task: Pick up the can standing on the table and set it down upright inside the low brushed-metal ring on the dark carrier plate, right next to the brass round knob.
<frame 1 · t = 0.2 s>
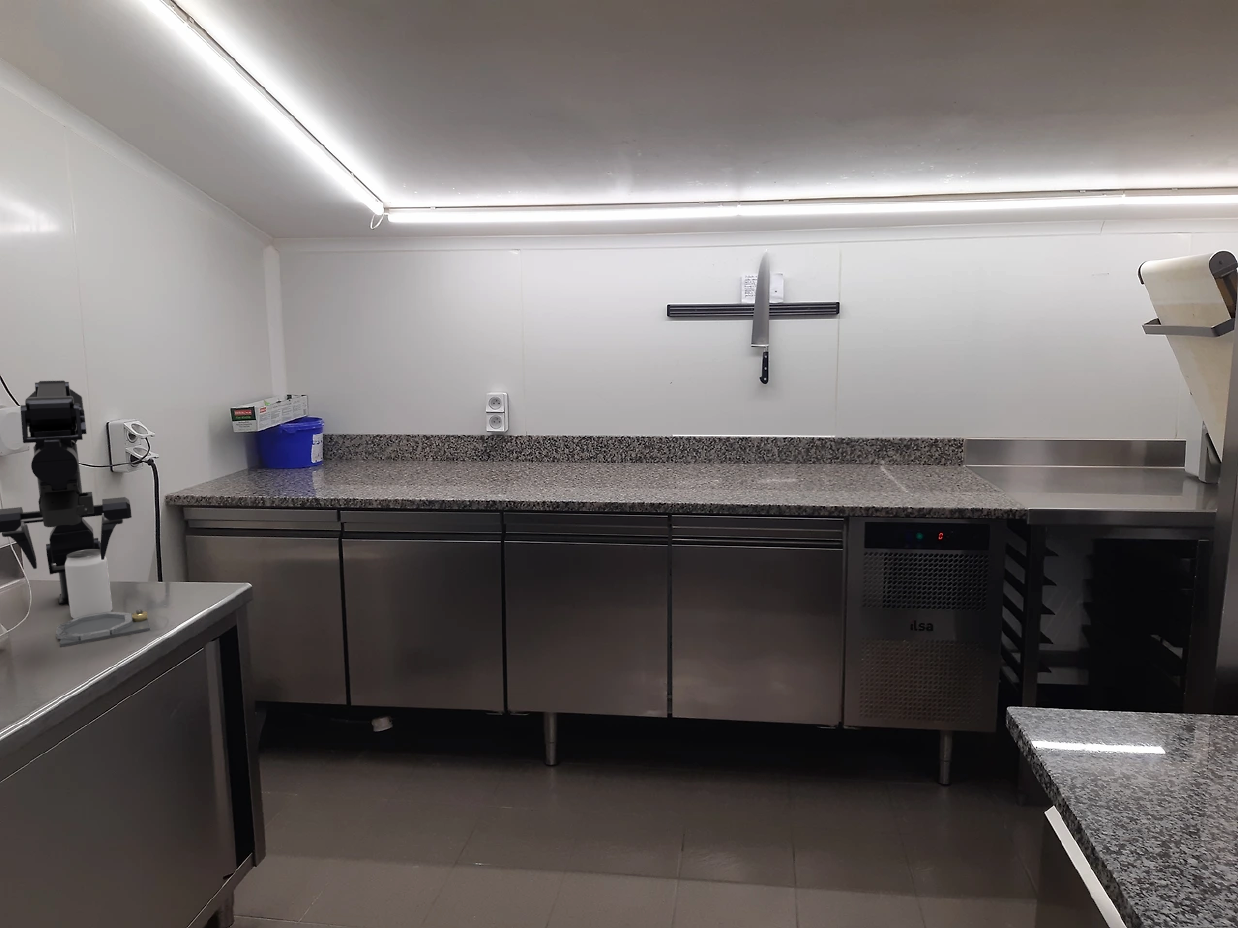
hand: (69, 563, 126), 14 cm above the worktop, tool pointing down, fingers open, 9 cm apart
brass round knob: (140, 622, 137), resting on carrier plate
socket: (95, 630, 134), resting on carrier plate
can: (92, 615, 141), on the worktop
carrier plate: (105, 629, 134), on the worktop
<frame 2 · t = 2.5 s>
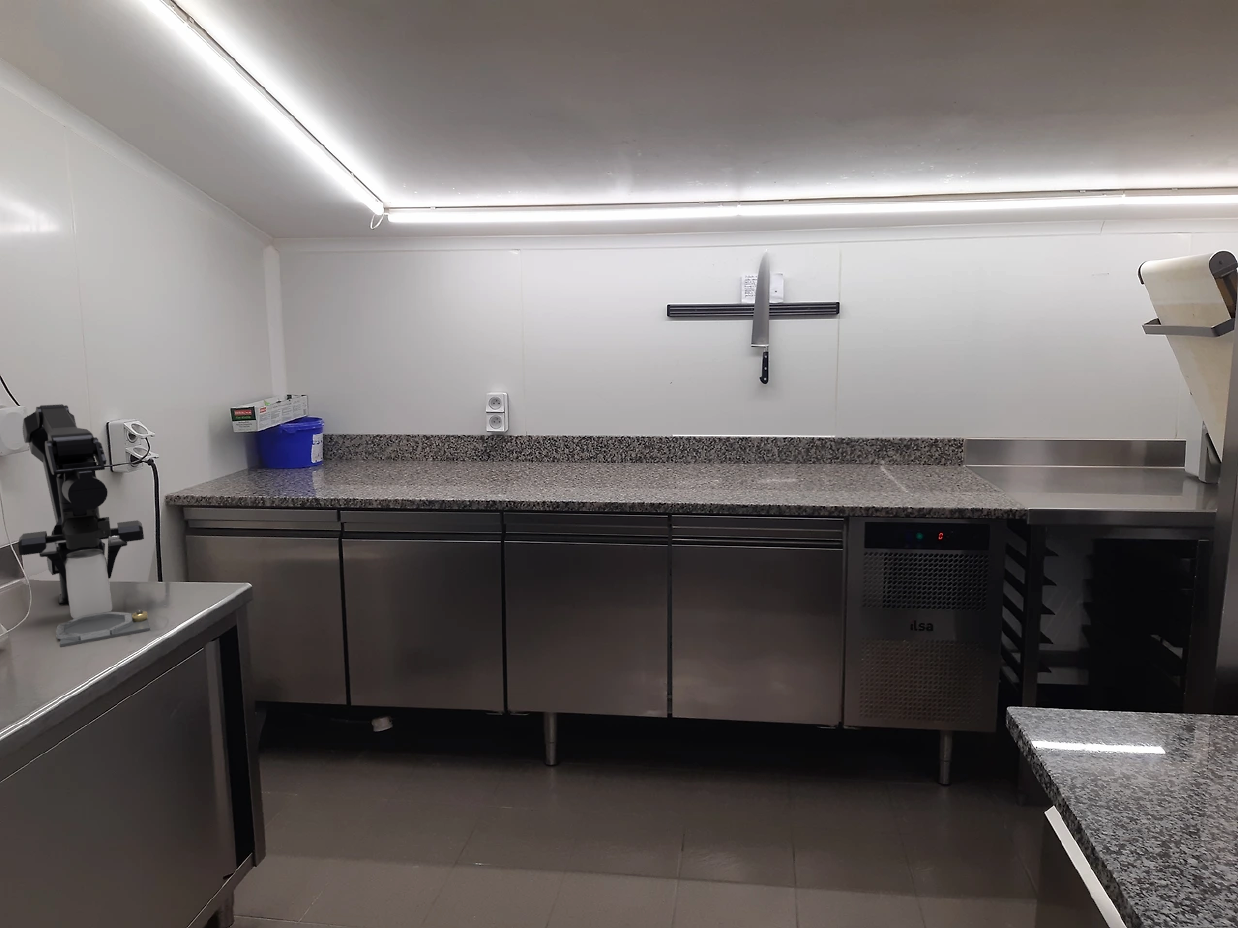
hand: (88, 581, 140), 7 cm above the worktop, tool pointing down, fingers closed on can, 6 cm apart
can: (92, 615, 141), on the worktop, touching gripper
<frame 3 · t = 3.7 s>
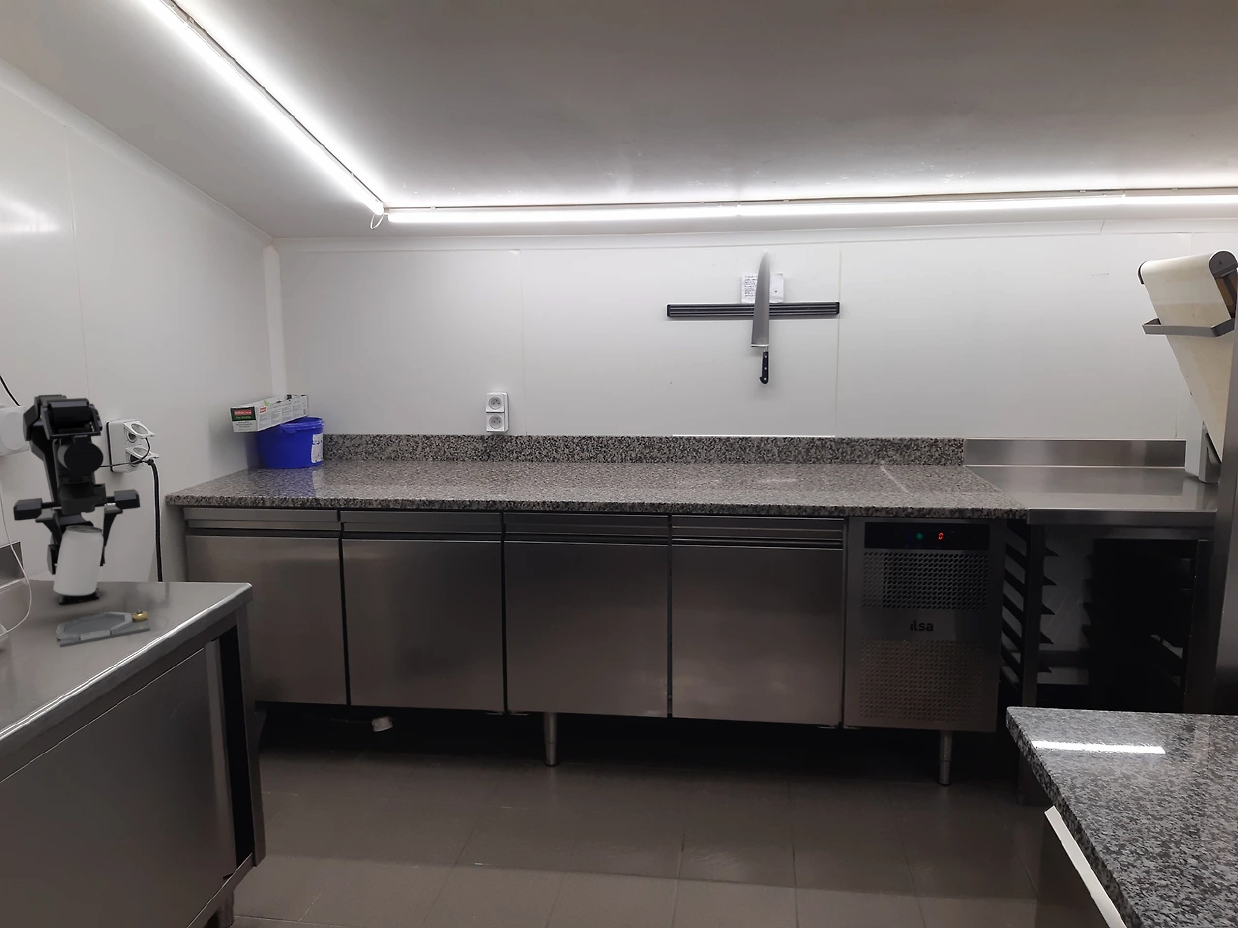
hand: (84, 549, 139), 13 cm above the worktop, tool pointing down, fingers closed on can, 6 cm apart
can: (74, 592, 139), point 5 cm above the worktop, touching gripper
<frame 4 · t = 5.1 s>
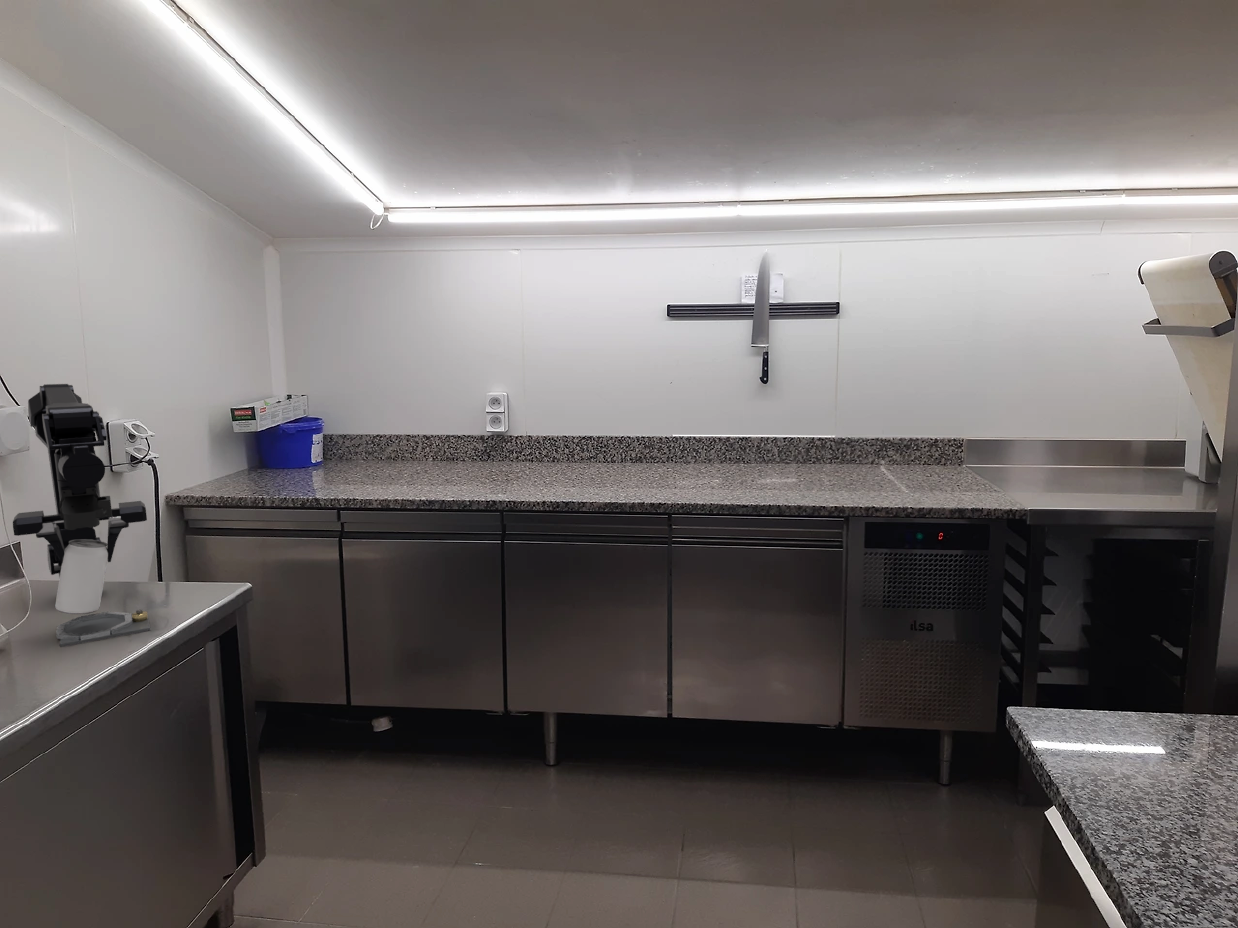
hand: (88, 564, 132), 12 cm above the worktop, tool pointing down, fingers closed on can, 6 cm apart
can: (77, 610, 131), point 4 cm above the worktop, touching gripper
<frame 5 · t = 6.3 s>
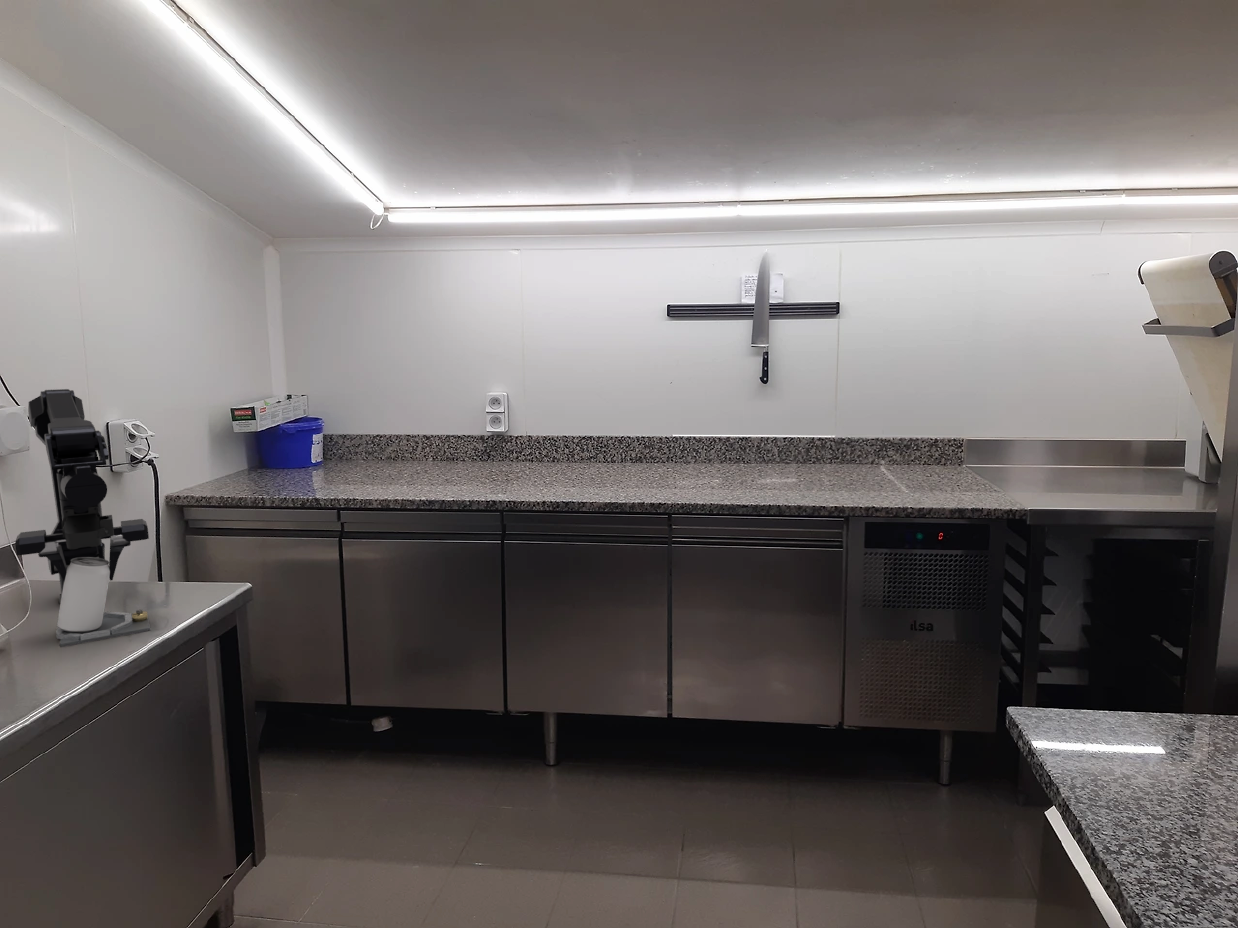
hand: (90, 582, 132), 9 cm above the worktop, tool pointing down, fingers closed on can, 6 cm apart
can: (79, 627, 132), point 1 cm above the worktop, touching carrier plate, gripper
when the fingers open (9 cm above the worktop, at t = 6.9 s): can stays where it is, resting on carrier plate, socket.
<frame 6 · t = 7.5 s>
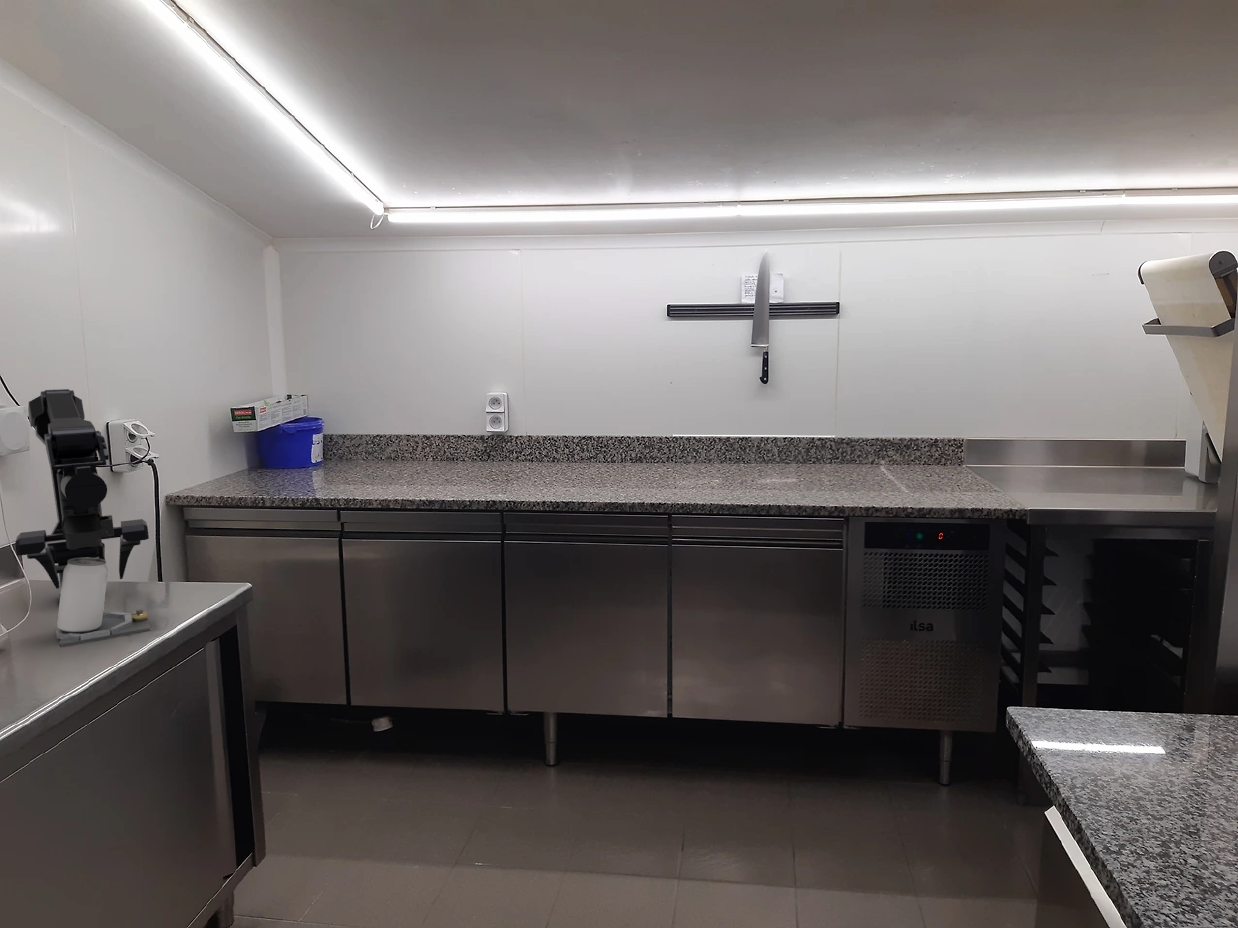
hand: (90, 583, 132), 9 cm above the worktop, tool pointing down, fingers open, 9 cm apart
can: (79, 628, 132), point 1 cm above the worktop, touching carrier plate, socket
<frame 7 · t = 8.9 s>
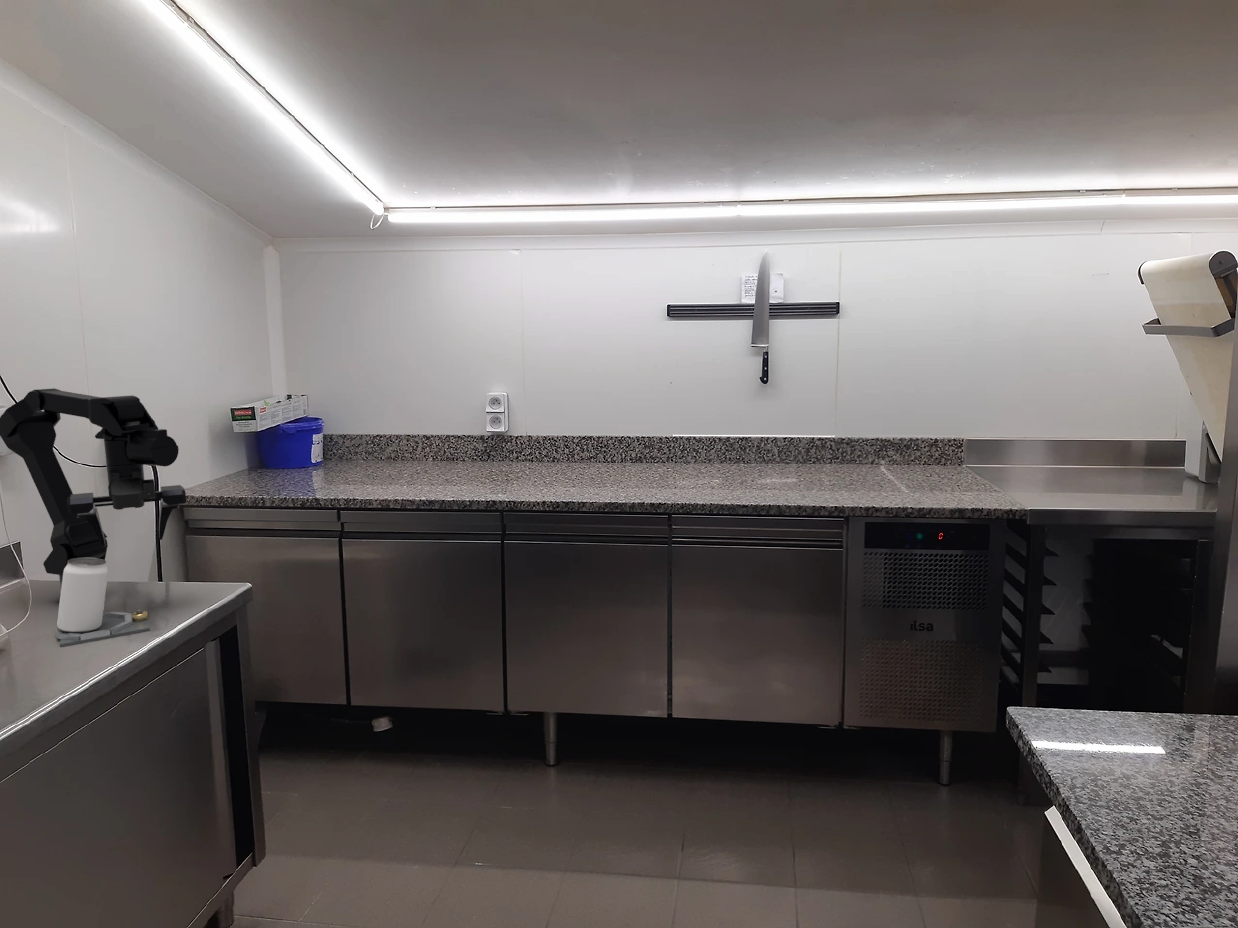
hand: (132, 542, 143), 13 cm above the worktop, tool pointing down, fingers open, 9 cm apart
nothing on the worktop moved.
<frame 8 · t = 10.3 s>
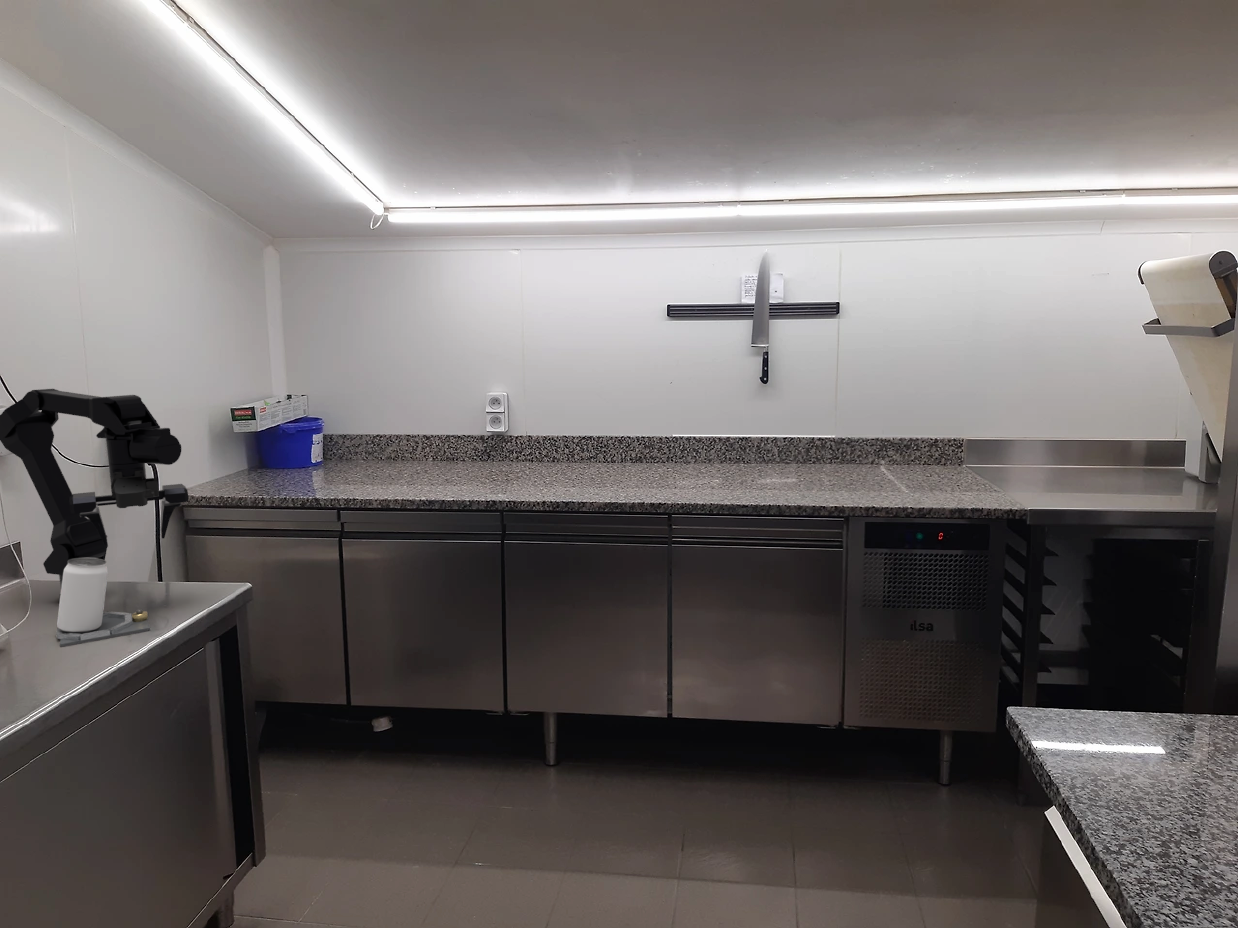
hand: (135, 541, 143), 13 cm above the worktop, tool pointing down, fingers open, 9 cm apart
nothing on the worktop moved.
at the end: can 2.3 cm off-centre on the socket, point 0.9 cm above the socket's base; can tilted 11°; the gripper is holding nothing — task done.
